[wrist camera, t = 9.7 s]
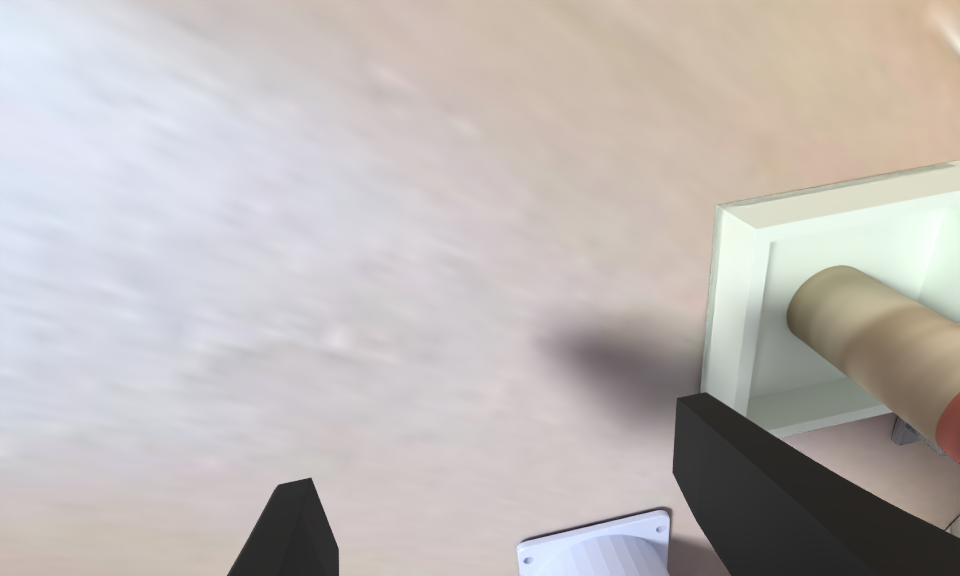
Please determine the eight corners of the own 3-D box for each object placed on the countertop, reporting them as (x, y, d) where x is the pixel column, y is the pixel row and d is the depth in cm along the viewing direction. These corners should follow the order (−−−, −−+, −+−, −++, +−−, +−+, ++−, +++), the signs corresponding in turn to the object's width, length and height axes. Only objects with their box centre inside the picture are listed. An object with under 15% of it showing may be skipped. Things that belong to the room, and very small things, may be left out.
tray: (897, 367, 26) (944, 400, 24) (698, 411, 26) (728, 449, 23) (959, 160, 22) (1025, 177, 19) (716, 205, 21) (756, 229, 18)
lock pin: (860, 327, 24) (1053, 454, 17) (784, 349, 24) (948, 486, 17) (871, 255, 22) (1090, 364, 16) (789, 278, 22) (973, 399, 15)
